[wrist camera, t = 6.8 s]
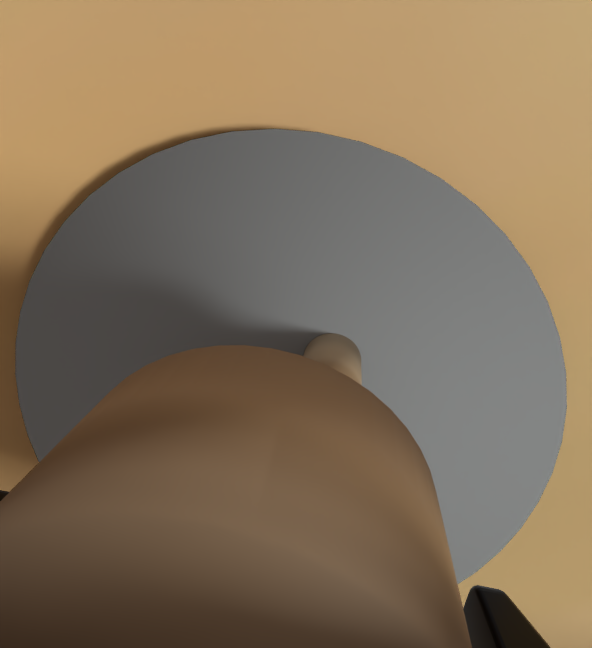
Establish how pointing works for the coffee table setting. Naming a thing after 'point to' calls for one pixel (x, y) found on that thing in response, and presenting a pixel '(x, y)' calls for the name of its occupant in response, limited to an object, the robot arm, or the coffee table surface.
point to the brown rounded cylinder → (232, 515)
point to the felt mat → (311, 305)
